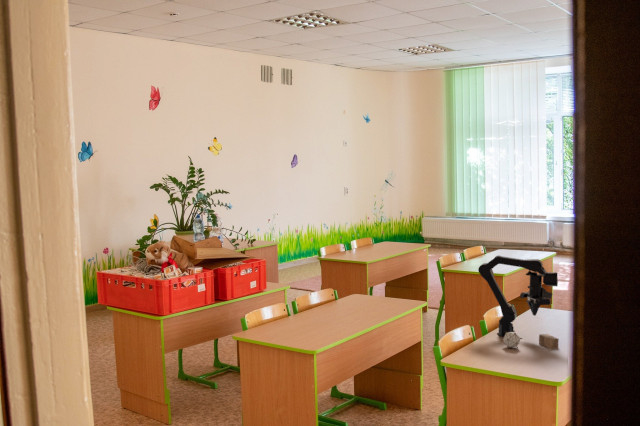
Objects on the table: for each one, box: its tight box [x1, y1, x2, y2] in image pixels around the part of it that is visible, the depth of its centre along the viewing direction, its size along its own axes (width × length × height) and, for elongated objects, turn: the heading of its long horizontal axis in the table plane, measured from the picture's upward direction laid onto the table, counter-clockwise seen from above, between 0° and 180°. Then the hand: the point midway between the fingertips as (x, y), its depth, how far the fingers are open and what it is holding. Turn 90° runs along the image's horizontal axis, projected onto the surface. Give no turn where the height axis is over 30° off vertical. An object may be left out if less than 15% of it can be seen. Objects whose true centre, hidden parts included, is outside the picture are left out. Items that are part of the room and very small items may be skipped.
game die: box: [500, 330, 523, 350], centre depth 279 cm, size 9×8×10 cm
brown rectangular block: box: [538, 333, 559, 349], centre depth 283 cm, size 4×4×9 cm
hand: (534, 315), depth 295 cm, fingers closed
